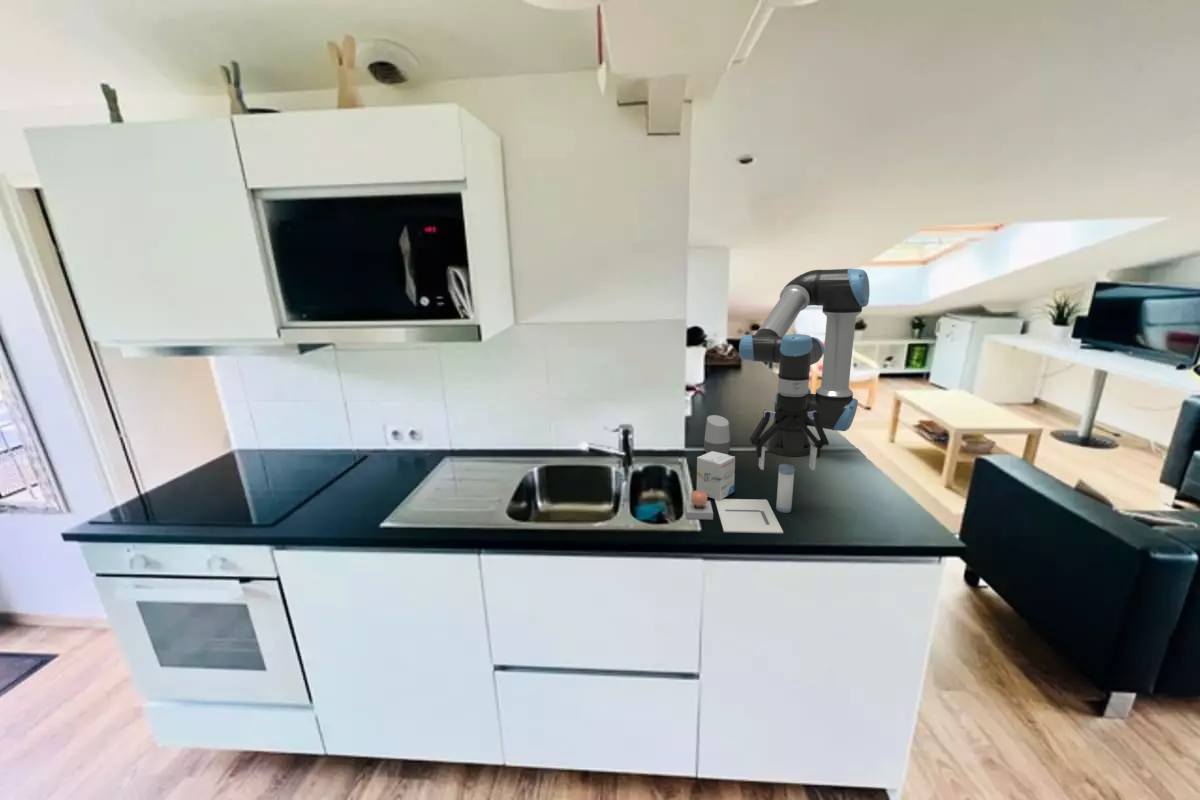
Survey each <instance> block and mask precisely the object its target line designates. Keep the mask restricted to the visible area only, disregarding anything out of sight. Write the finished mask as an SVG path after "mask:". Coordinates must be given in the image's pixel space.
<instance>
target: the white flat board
mask: <svg viewBox="0 0 1200 800" xmlns="http://www.w3.org/2000/svg"><path fill="white" fill-rule="evenodd" d="M714 502H715V505H716V509H717V513H718V516H719V520H720V523H721V526H722V530H723V533H746V534H747V533H749V534H750V533H752V534H754V533H755V534H784V530H783V529H782V527H781V525H780V522H779V521H778V518H777V516H776V515H775V512H774V511H773V510H772V507H771V505H770V503H769V501H768V499H756V498H755V499H750V498H749V499H746V498H743V499H742V498H723V499H722V500H717V499H714Z"/></svg>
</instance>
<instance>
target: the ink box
mask: <svg viewBox="0 0 1200 800" xmlns="http://www.w3.org/2000/svg"><path fill="white" fill-rule="evenodd" d="M735 470H736V456H735V455H734V456H732V455H730V454H723V453H718V452H714V451H711V452H709V453H704V454H702V455H700V456H697V457H696V491H697V490H700V491H704V492H706V493H707V498H710V499H711V498H712V499H713V500H715V499H717V500H722V499H726V497H728V496H729V495H731V494H733V493H735V476H736V473H735V472H736V471H735Z"/></svg>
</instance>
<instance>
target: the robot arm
mask: <svg viewBox="0 0 1200 800" xmlns="http://www.w3.org/2000/svg"><path fill="white" fill-rule="evenodd" d="M869 301H870V280H869V276H868V273H867V272H866V271H865V270H864V269H861V268H841V269H839V268H837V269H813V270H808V271H806V272H804V273H801V274H800V275H798V276H796V277H795V278H793V279H792V280H790V281H789V282H788V283H787V284H786V285H785V286H784V287H783V289H782V290H781V292H780V294H779V300H778V301H777V303H776V304H775V306H774V307H773V308H772V309H771V311H770V313H769V314H768V315H767V317H766V318H765V319H764V320H763V323H762V324H761V325H760V326H759V328H758V329H757V331H756V332H755V334H745V335H743V336H742V337H741V338H740V341H739V345H738V351H739V357H740V358H741V359H742V360H745V361H752V362H760V363H775V364H778V365H779V366H778V367H779V368H778V379H777V392H776V393H775V401H774V404H773V405H774V408H773V409H774V410H773V411H769V410H768V409H764V411H763V412H762V413H763V414H762V418H761V419H760V421H759V422H758V425H757V426H756V427H755V430H754V431H753V433H752V434H751V436H750V437H749V442H750V444H752V445H753V446H754V445H755V456H756V457H757V458H758V467H759V469H760V470H762V471H763V470H764V469H765V454H766V449H767V450H768V451H769V452H771V453H774V454H776V455H780V456H785V457H804V456H806V455H809V463H808V467H809V469H810V470H811V471H816V465H817V464H816V463H817V459H819V458H820V457H821V449H822V448H823V447H824V446H829V444H830V442H829V439H828V437H827V436H826V433H825V430H829V431H830V430H832V431H836V432H837V431H839V432H846V431H848V430H849V429H850V428H851V426H852V424H853V421H854V418H855V416H856V413H857V410H858V402H859V401H858V399H856V398H855V397H854V392H853V390H851V389H850V379H851V378H850V376H851V367H852V357H853V351H854V350H853V348H854V338H855V329H856V321H857V320H856V319H857V317H858V316H860V314H861V313H862V312H863V308H864V307H867V306H868V305H869ZM810 306H818V307H819V306H821V307H822V314H823V315H825V317H826V323H825V324H826V325H825V333H824V335H825V336H824V343H823V342H822V341H821V340H820V339H819V338H817V337H815V336H811V335H808V334H804V333H803V334H802V333H801V334H800V333H797V334H796V333H793V334H791V333H790V334H787V333H788V331H789V329H790V328H791V326H792V325H793V323H794V322H795V320H796V318H798V316H799V314H800V312H801V311H803V310H805V309H806V308H807V307H810ZM821 358H823V359H822V370H821V381H820V382H821V383H820V386H819V387H818V388H817V389H816V390H815V393H811V389H810V388H809V386H810V385H809V382H810V372H811V366H812V365H814V364H817V363H818V362H819V361H820V360H821ZM772 419H773V422H772V425H771V426H769V428H767V425H768V423H769V422H770V420H772ZM809 427H813V428H815V430H816V432H817V435H818V436H819V439H818V438H817V437H816V436H815V434H813V432H812V431H811V430H810V428H809ZM766 428H767V430H765V429H766ZM824 429H825V430H824ZM762 433H763V434H762ZM811 441H812V443H813V444H811ZM765 444H766V447H765Z"/></svg>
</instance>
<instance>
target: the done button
mask: <svg viewBox="0 0 1200 800" xmlns="http://www.w3.org/2000/svg"><path fill="white" fill-rule="evenodd" d="M690 495H691V496H690V501H691V503H693V504H694V505H696V509H702V505H705V504H707V501H708V497H707V493H706V492H704V491H700V490H697V489H696V490H694V491H693V490H692V492H691V493H690Z"/></svg>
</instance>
